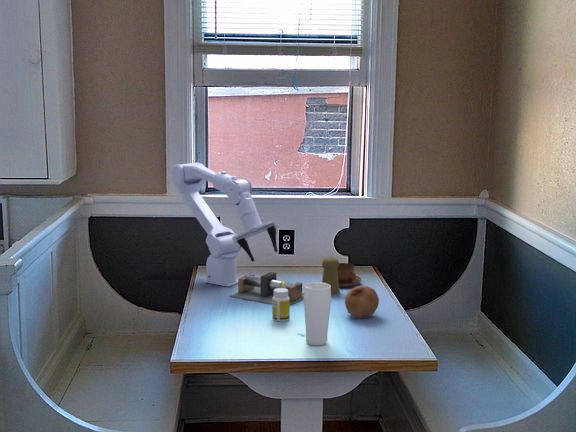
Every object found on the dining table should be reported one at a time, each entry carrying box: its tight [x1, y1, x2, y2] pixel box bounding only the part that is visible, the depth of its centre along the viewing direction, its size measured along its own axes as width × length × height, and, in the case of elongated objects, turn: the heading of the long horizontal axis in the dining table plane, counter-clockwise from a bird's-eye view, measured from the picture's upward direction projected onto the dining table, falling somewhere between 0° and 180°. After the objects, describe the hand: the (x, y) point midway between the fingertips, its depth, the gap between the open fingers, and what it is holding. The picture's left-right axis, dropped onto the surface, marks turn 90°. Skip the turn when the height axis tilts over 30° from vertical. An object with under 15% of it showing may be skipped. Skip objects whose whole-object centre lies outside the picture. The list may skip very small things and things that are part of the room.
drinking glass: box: [303, 281, 332, 347], centre depth 183 cm, size 7×7×15 cm
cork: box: [321, 257, 341, 296], centre depth 226 cm, size 6×6×11 cm
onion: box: [344, 285, 380, 319], centre depth 204 cm, size 10×9×10 cm
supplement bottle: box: [271, 288, 291, 323], centre depth 201 cm, size 5×5×8 cm
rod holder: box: [237, 273, 303, 303], centre depth 223 cm, size 19×6×5 cm, turn 60°
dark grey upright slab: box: [260, 271, 277, 296], centre depth 223 cm, size 2×6×6 cm, turn 150°
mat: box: [229, 287, 304, 306], centre depth 223 cm, size 20×14×1 cm
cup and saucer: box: [337, 262, 362, 288], centre depth 237 cm, size 12×12×6 cm
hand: (264, 256), depth 223 cm, fingers open, 7 cm apart
